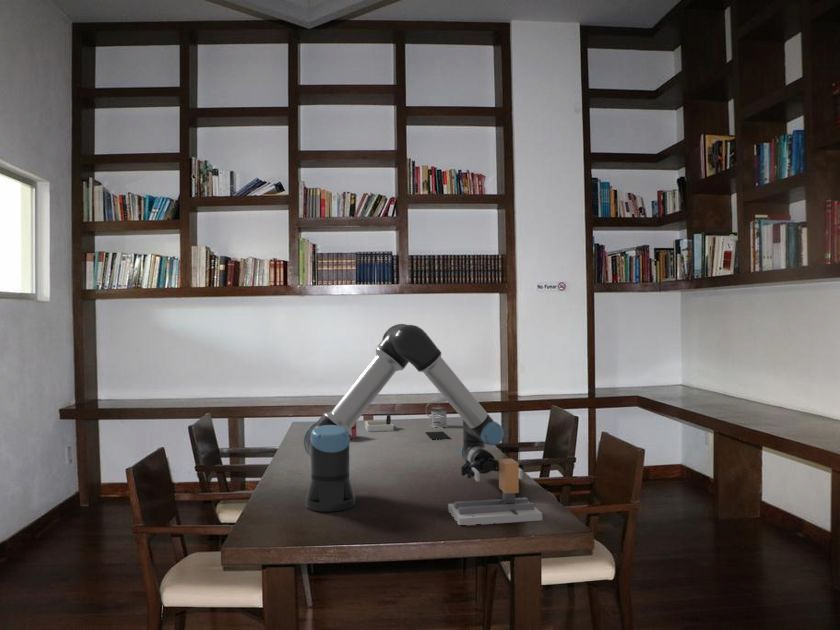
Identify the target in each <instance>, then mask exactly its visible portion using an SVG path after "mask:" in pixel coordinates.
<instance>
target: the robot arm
mask: <svg viewBox="0 0 840 630" xmlns="http://www.w3.org/2000/svg"><path fill="white" fill-rule="evenodd" d="M409 363H410V364H411V365H412V367H414V368H415V369H416V370H417V372H418V373H424V375H425V376H426V377H427V378H428V381H430V382H431V384H432V385H434V386H435V388H436V389H437V390H439V394H441V395H442V396H443V398H445V399H446V402H448V403H449V405H450V406H452V408H453V409H454V410H455V412H456V413H457V414H458V415H459V416H460V418H462V431H463V433H462V435H463V436H462V437H463V438H462V440H463V441H462V445H461V448H460V454H461V455H460V456H461V457H462V459H463V460H464V462H465V463H463V464H462V466H461V474H460V475H461V476H462V477H463V476H466V475H467V479H471V478H473V479H474V480H475V481H476V482H480V474H482V475H485V474H489V473H491V472H492V471H493V472H499V459H496V458H495V456H494V455H493V454H492V453H491V452H490V451H488V450H487V449H486V448H485V445H489V446H497V445H498V444H500V443H501V442H502V441H503V439H504V435H505V431H504V428H503V427H502V425H500V424H499V423H498V422H497V421H494V420H493V418H492V417H491V416H490V414H488V412H487V411H486V410H485V409H484V407H483V406H482V405H481V404H480V403H479V401H478V400H477V399H476V398H475V397H474V395H473V394H472V393H471V391H470V390H469V389H468V388H467V387H466V386H465V384H464V383H463V382H462V381H461V379H460V378H459V377H458V375H456V373H455V372H454V371H453V369H451V367H450V366H449V365H448V363H446V361H445V360H444V359H443V357H442V351H441V350H440V349H439V348H438V347H437V345H436V344H435V342H433V340H432V338H431V337H430V336H429V335H428V334H427V333H426V331H425V330H424V329H422V328H421V327H419V326H417V325H415V324H406V323H399V324H397V323H396V324H395V325H393V326H390V327H389V328H388V329H387V330H386V331H385V332H384V333H383V336H382V339H381V342H380V343H379V344H378V345H377V347H375V356H374V358H372V360H371V361H370V362H369V364H368V365H367V366H366V368H365V369H364V370H363V371H362V372H361V373H360V375H359V376H358V377H357V379H356V380H355V381H354V383H352V385H351V386H350V388H349V389H348V390H347V392H345V394H344V395H343V396H342V398H341V399H340V400H339V401H338V402H337V404H336V405H335V406H334V407H333V409H332V410H331V411H329V412H324V413H323V414H322V415H321V416H320V418H319V419H318V420H317V421H316V422H314V423H313V424H311V425H310V426H309V427H308V428H307V429H306V431H305V433H304V437H303V446H304V447H303V448H304V450H305V451H306V453H307V455H308V456H309V457H310V462H311V463H310V468H311V469H310V471H311V472H310V473H311V474H310V475H311V476H310V479H311V480H310V483H309V487H308V490H307V493H306V497H305V507H306V508H307V509H308V510H310V511H315V512H321V513H322V512H325V513H327V512H329V513H330V512H339V511H341V512H342V511H344V510H345V511H346V510H348V509H351V508H353V507H355V505H356V495H355V492H354V488H353V485H352V482H351V480H350V479H351V478H350V442H351V441H350V440H351V439H350V436H351V435H352V432H351V428H352V427H353V425H354V424H355V423H356V424H357V422H358V420H359V419H360V418H361V417H362V415H363V414H364V413H365V411H366V410H368V407H370V405H371V404H372V402H373V401H374V399H376V397H377V396H378V395H379V394H380V392H381V391H382V390H383V389H384V387H385V386H386V384H387V383H388V382H389V381H390V379H391V378H392V377H393V375H395V373H396V372H398V371H403V370H405V368H406V367H407V365H408V364H409ZM518 463H519V480H523V477H524V476H523V475H524V474H523V473H524V464H523V463H520V462H518Z"/></svg>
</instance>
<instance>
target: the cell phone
mask: <svg viewBox="0 0 840 630" xmlns="http://www.w3.org/2000/svg"><path fill="white" fill-rule="evenodd" d="M425 433H426V434H427V435H428V436H429V437H428V436H427V435H426V434H425V435H426V436H427V437H428V438H429V439H430V440H431V441H440V440H439V439H451V440H452V438H451V437H450V436H449V435H448V434H446V433H445V432H444V431H443V430H442V431H425ZM436 439H437V440H436Z"/></svg>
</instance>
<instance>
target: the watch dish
mask: <svg viewBox="0 0 840 630" xmlns="http://www.w3.org/2000/svg"><path fill="white" fill-rule="evenodd" d="M364 428H365V429H366V432H370V433H371V432H390V431H391V432H393V431H394V430H395V429H394V428H395V427H394V424H393V422H392V421H391V423H390V424H388V425H386V420H365V421H364Z"/></svg>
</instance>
